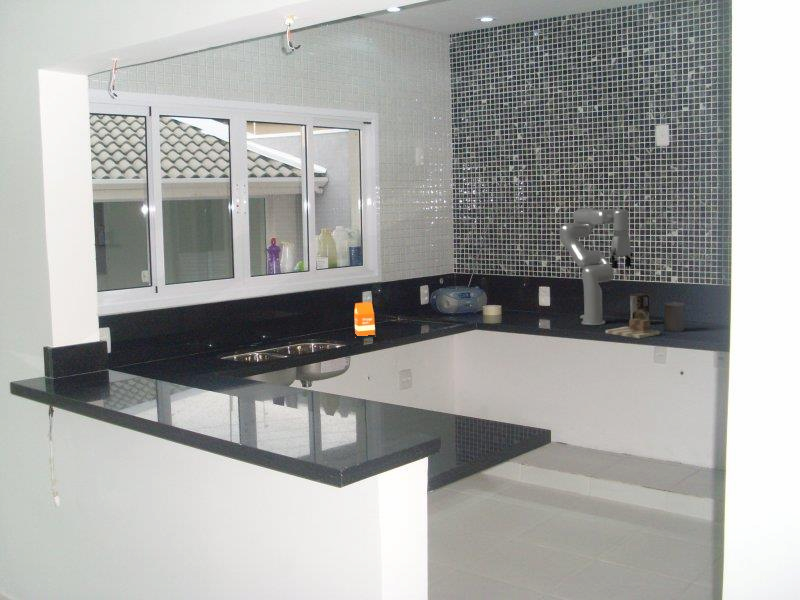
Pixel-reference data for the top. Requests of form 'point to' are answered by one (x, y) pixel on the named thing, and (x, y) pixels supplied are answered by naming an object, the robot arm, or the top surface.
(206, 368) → the top surface
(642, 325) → the block
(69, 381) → the top surface
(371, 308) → the orange juice
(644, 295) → the coffee box
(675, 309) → the pillar candle
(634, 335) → the pine board
